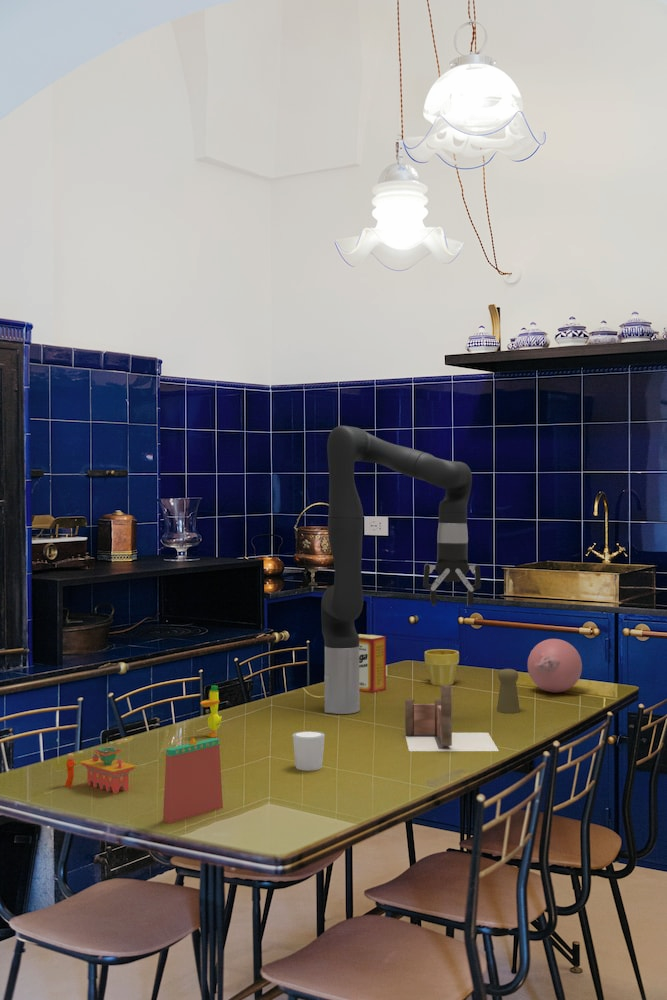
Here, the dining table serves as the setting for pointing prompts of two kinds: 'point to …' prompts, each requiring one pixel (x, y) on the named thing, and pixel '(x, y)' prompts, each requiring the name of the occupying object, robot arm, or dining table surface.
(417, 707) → the fence fixed section
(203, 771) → the toy building block set
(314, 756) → the white short tapered cylinder
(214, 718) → the toy figure
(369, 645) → the baking soda box
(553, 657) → the pink rubber ball
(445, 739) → the hinged fence panel
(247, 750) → the dining table surface
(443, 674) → the plant pot
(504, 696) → the brown tall tapered piece
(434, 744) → the card
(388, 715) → the dining table surface
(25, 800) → the dining table surface
